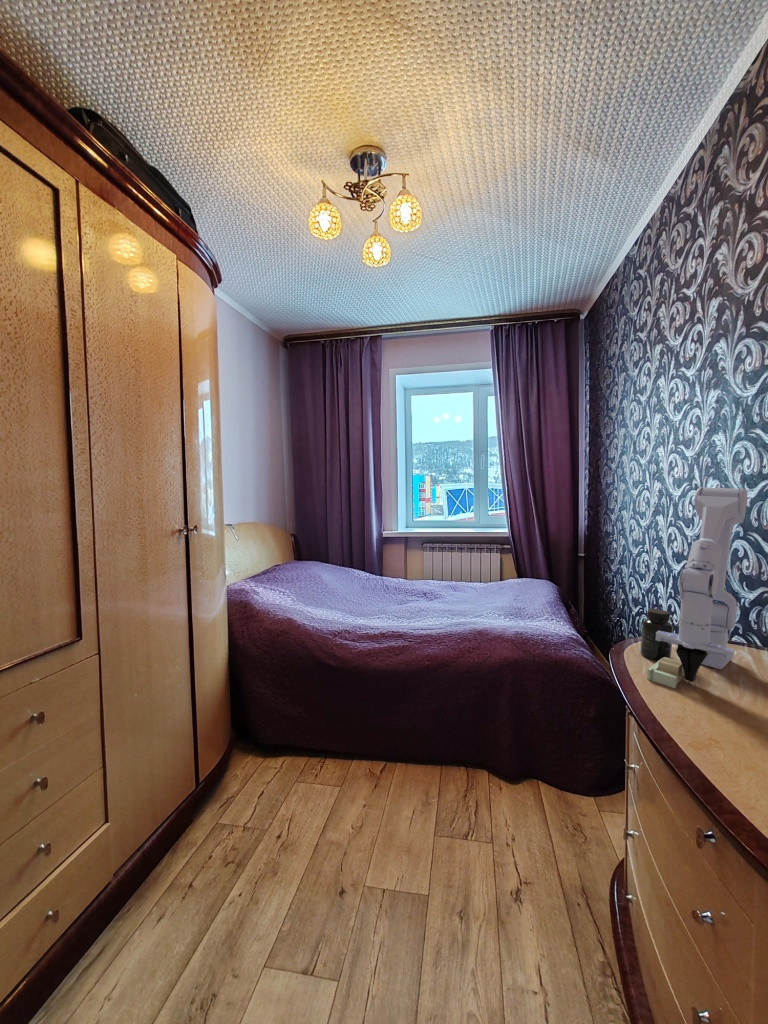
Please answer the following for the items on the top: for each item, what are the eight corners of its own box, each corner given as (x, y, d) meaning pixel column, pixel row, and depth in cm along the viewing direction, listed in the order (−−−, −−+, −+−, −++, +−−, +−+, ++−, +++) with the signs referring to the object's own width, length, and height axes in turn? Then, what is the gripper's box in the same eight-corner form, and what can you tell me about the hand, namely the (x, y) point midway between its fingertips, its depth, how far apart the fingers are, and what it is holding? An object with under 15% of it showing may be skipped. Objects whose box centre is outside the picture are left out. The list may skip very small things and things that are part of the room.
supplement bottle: (675, 663, 112) (679, 616, 111) (645, 660, 114) (649, 614, 113) (664, 652, 119) (667, 608, 118) (636, 649, 120) (639, 606, 119)
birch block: (663, 672, 107) (664, 656, 107) (682, 679, 104) (683, 662, 104) (657, 677, 104) (658, 661, 104) (676, 684, 101) (678, 667, 101)
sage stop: (661, 667, 110) (662, 657, 110) (688, 675, 106) (689, 665, 106) (647, 679, 103) (647, 669, 103) (674, 688, 99) (675, 678, 99)
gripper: (652, 616, 103) (648, 673, 104) (730, 635, 92) (724, 698, 93) (663, 610, 107) (659, 665, 109) (738, 627, 96) (733, 687, 98)
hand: (690, 679), depth 101 cm, fingers closed
